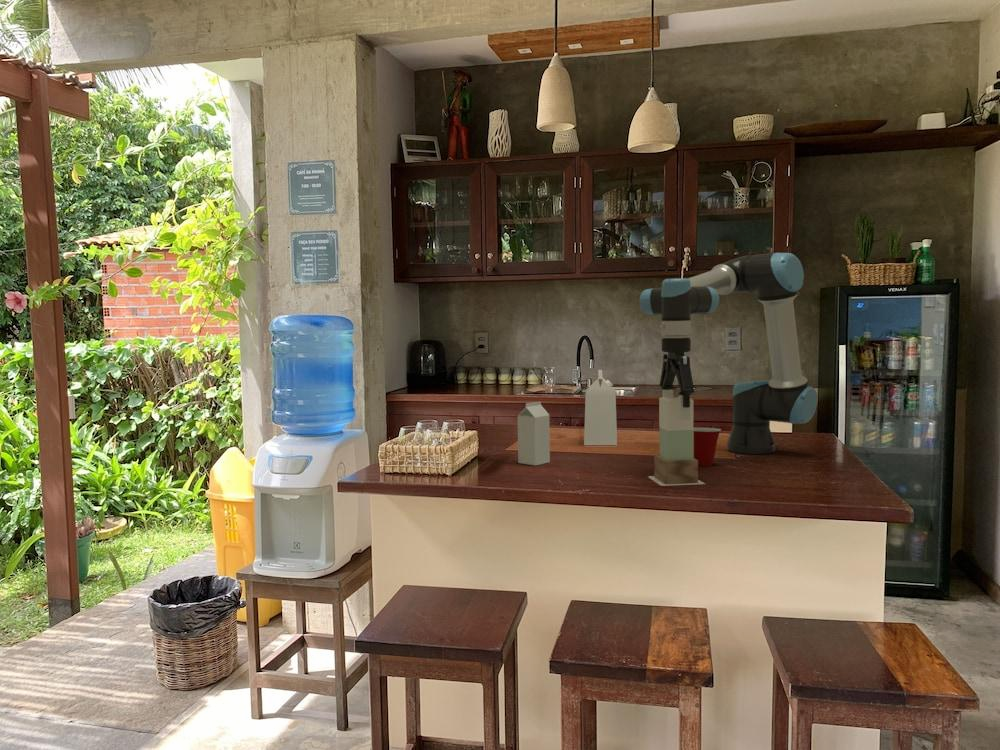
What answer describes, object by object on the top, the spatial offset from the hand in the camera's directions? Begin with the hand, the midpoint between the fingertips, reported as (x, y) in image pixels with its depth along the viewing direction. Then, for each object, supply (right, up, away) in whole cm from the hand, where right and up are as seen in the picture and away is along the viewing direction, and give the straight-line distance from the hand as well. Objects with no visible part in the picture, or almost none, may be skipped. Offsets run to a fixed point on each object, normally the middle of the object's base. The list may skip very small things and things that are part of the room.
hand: (676, 416), depth 205 cm
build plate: (0, -18, +1) cm, 18 cm away
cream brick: (0, -3, 0) cm, 3 cm away
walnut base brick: (0, -17, +1) cm, 17 cm away
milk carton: (-37, -17, +33) cm, 52 cm away
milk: (-11, -14, +68) cm, 71 cm away
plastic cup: (+13, -17, +23) cm, 31 cm away
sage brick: (0, -11, +1) cm, 11 cm away
